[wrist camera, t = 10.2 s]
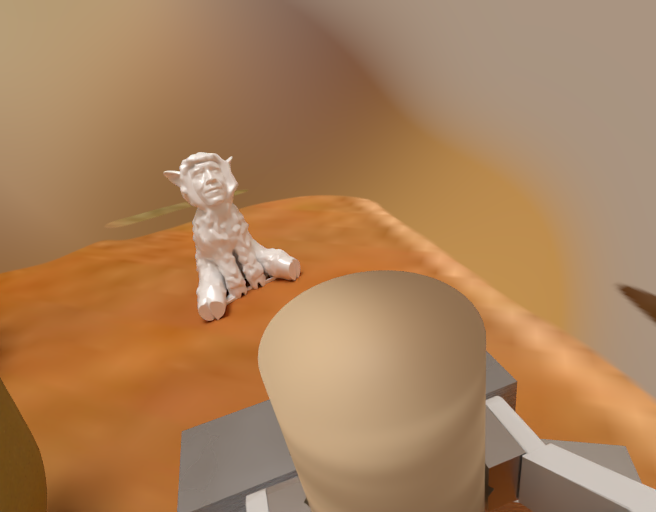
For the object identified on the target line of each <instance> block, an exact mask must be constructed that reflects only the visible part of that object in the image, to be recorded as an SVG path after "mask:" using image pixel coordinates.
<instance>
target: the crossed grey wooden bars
mask: <svg viewBox="0 0 656 512" xmlns="http://www.w3.org/2000/svg"><path fill="white" fill-rule="evenodd" d="M516 391H517V381H516V380H515V379H514V378H513V377H512V376H511V375H510V374H509V373H508V372H507V371H506V370H505V369H504V368H503V367H502V366H501V365H500V364H499V363H498V362H497V361H496V360H495V359H494V358H493V357H492V356H491V355H490V354H489V353H488V352H487V351H486V400H487V399H489V398H492V397H494V396H499V397H501V398H503V399H504V400H505V401H506V402H507V404H508V405H509V406H510V407H511V408H512V409H513V410H514V411H515V406H516ZM541 440H542V441H543V443H544V444H545V445H547V444H550V443H552V444H554V445H556V446H558V447H561V448H563V449H565V450H567V451H569V452H572V453H574V454H576V455H578V456H581V457H583V458H585V459H587V460H590V461H592V462H594V463H596V464H599V465H601V466H603V467H605V468H608V469H610V470H612V471H614V472H617V473H619V474H621V475H623V476H626V477H628V478H630V479H632V480H634V481H637V482H639V483H641V480H640V478H639V476H638V474H637V471H636V469H635V467H634V465H633V462H632V460H631V458H630V456H629V453H628V451H627V449H626V447H625V446H618V445H606V444H594V443H582V442H570V441H558V440H546V439H541ZM296 476H298V474H297V471H296V468H295V466H294V463H293V460H292V457H291V455H290V452H289V449H288V447H287V444H286V441H285V439H284V436H283V433H282V431H281V428H280V425H279V423H278V420H277V417H276V414H275V412H274V409H273V406H272V404H271V401H270V400H267V401H264V402H262V403H259V404H256V405H253V406H251V407H248V408H245V409H242V410H240V411H237V412H234V413H231V414H229V415H226V416H223V417H220V418H218V419H215V420H212V421H209V422H207V423H204V424H201V425H199V426H196V427H193V428H190V429H188V430H185V431H182V440H181V457H180V474H179V491H178V508H177V512H246V505H245V504H246V496H247V495H250V494H252V493H255V492H257V491H260V490H262V489H265V488H268V487H271V486H273V485H276V484H278V483H281V482H283V481H286V480H289V479H291V478H294V477H296ZM641 484H642V483H641ZM485 512H488V511H487V510H486V508H485ZM490 512H533V511H532V510H530V509H529V508H527V507H526V506H524V505H522V504H521V503H519V502H518V500H516V501H514V502H511V503H509V504H507V505H504V506H502V507H499V508H497V509H495V510H492V511H490Z"/></svg>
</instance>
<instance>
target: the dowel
mask: <svg viewBox="0 0 656 512" xmlns="http://www.w3.org/2000/svg"><path fill="white" fill-rule="evenodd" d="M258 364H259V370H260V373H261V377H262V380H263V382H264V385H265V388H266V390H267V393H268V396H269V398H270V401H271V404H272V406H273V409H274V412H275V414H276V417H277V420H278V423H279V425H280V428H281V431H282V433H283V436H284V439H285V441H286V444H287V447H288V449H289V452H290V455H291V457H292V460H293V463H294V466H295V468H296V471H297V474H298V476H299V479H300V482H301V484H302V487H303V490H304V492H305V495H306V498H307V500H308V503H309V506H310V509H311V511H312V512H485V414H486V331H485V327H484V323H483V320H482V318H481V316H480V314H479V312H478V311H477V309H476V308H475V307H474V305H473V304H472V303H471V302H470V301H469V300H468V299H467V298H466V297H465V296H464V295H463V294H462V293H460V292H459V291H458V290H456V289H455V288H453V287H451V286H449V285H448V284H446V283H444V282H441V281H439V280H437V279H434V278H431V277H428V276H424V275H420V274H416V273H410V272H404V271H367V272H360V273H354V274H349V275H345V276H341V277H338V278H334V279H331V280H329V281H326V282H323V283H321V284H319V285H316V286H314V287H312V288H310V289H308V290H307V291H305V292H303V293H301V294H300V295H298V296H297V297H295V298H294V299H293V300H291V301H290V302H289V303H287V304H286V305H285V306H284V307H283V308H282V309H281V310H280V311H279V312H278V313H277V314H276V315H275V317H274V318H273V319H272V320H271V322H270V323H269V325H268V326H267V328H266V330H265V332H264V334H263V336H262V339H261V342H260V346H259V352H258Z"/></svg>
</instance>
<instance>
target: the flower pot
mask: <svg viewBox="0 0 656 512" xmlns="http://www.w3.org/2000/svg"><path fill="white" fill-rule="evenodd" d="M46 509H47V487H46V477H45V471H44V465H43V461H42V457H41V454H40V451H39V448H38V446H37V444H36V441H35V439H34V437H33V435H32V433H31V431H30V430H29V428H28V426H27V424H26V423H25V421H24V419H23V417H22V415H21V414H20V412H19V410H18V408H17V406H16V404H15V403H14V401H13V399H12V398H11V396H10V394H9V392H8V391H7V389H6V387H5V385H4V384H3V382H2V380H1V378H0V512H46Z"/></svg>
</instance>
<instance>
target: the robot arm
mask: <svg viewBox="0 0 656 512" xmlns="http://www.w3.org/2000/svg"><path fill="white" fill-rule="evenodd" d="M516 500H518V502H519V503H521V504H522V505H524V506H526V507H527V508H529V509H530V510H532V511H533V512H656V490H655V489H652V488H650V487H648V486H646V485H643V484H641V483H639V482H637V481H634V480H632V479H630V478H628V477H626V476H623V475H621V474H619V473H617V472H614V471H612V470H610V469H608V468H605V467H603V466H601V465H599V464H596V463H594V462H592V461H590V460H587V459H585V458H583V457H581V456H578V455H576V454H574V453H572V452H569V451H567V450H565V449H563V448H561V447H558V446H556V445H554V444H552V443H550V444H547V445H545V444H544V443H543V441H542V440H541V439H540V438H539V437H538V436H537V435H536V434H535V433H534V432H533V431H532V430H531V428H530V427H529V426H528V425H527V424H526V423H525V422H524V421H523V420H522V419H521V418H520V417H519V415H518V414H517V413H516V412H515V411H514V410H513V409H512V408H511V407H510V406H509V405H508V404H507V402H506V401H505V400H504V399H503V398H501V397H499V396H494V397H492V398H489V399H487V400H486V414H485V508H486V510H487V511H488V512H490V511H492V510H495V509H497V508H499V507H502V506H504V505H507V504H509V503H511V502H514V501H516ZM245 505H246V512H312V511H311V509H310V506H309V503H308V500H307V498H306V495H305V492H304V490H303V487H302V484H301V482H300V479H299V476H296V477H294V478H291V479H289V480H286V481H283V482H281V483H278V484H276V485H273V486H271V487H268V488H265V489H262V490H260V491H257V492H255V493H252V494H250V495H247V496H246V504H245Z"/></svg>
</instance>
